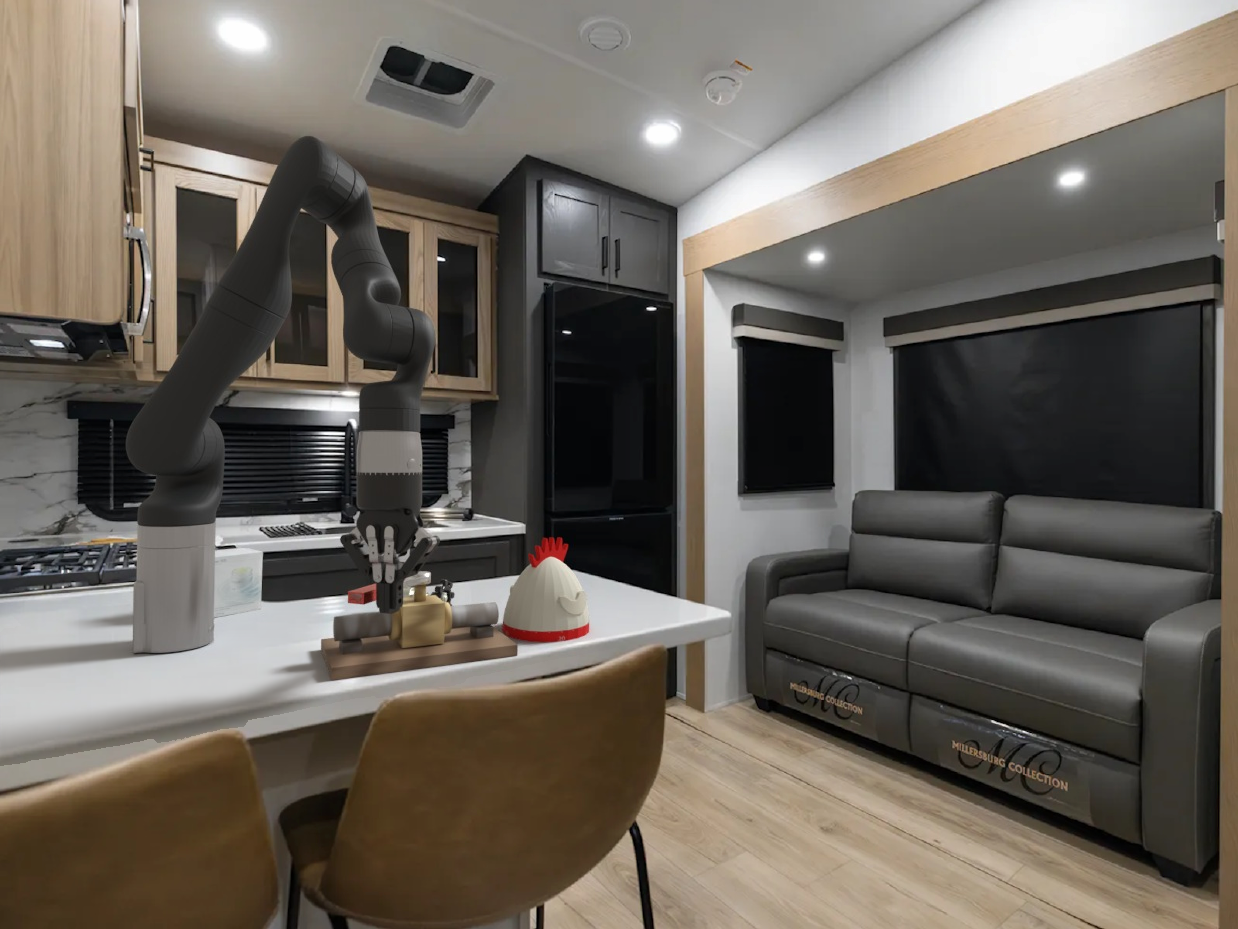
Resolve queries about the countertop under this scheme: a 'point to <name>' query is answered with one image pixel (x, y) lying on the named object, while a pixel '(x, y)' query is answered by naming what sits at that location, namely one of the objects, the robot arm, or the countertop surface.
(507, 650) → the valve pipe
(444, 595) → the valve
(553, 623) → the kitchen timer
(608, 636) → the countertop surface
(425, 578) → the valve lever
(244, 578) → the skincare box
